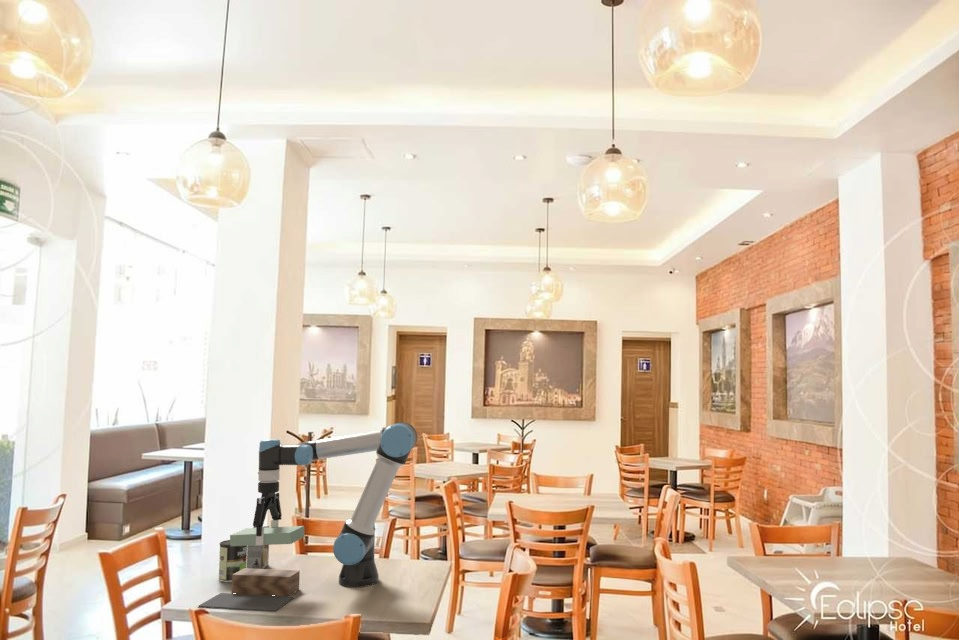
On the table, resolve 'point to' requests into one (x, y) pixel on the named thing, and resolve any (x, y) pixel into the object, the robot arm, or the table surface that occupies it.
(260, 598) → the mat
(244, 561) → the coffee can
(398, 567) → the table surface
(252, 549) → the coffee box
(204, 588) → the table surface
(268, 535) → the lid
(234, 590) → the box
